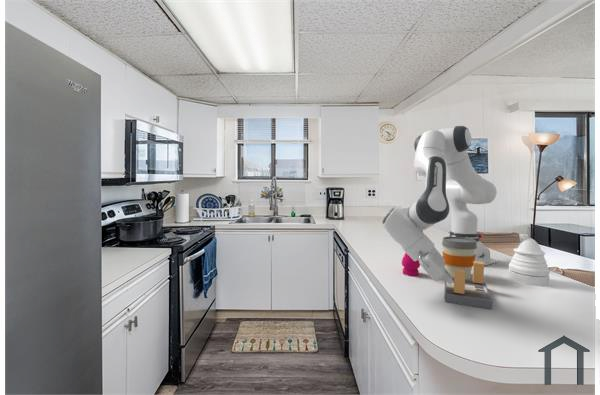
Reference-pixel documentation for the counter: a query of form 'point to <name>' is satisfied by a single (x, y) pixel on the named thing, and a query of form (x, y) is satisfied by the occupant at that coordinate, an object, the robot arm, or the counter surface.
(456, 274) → the slider
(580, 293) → the counter surface
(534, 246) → the honey pot
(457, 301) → the switch panel
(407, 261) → the pepper mill
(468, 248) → the reusable coffee cup
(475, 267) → the slider
